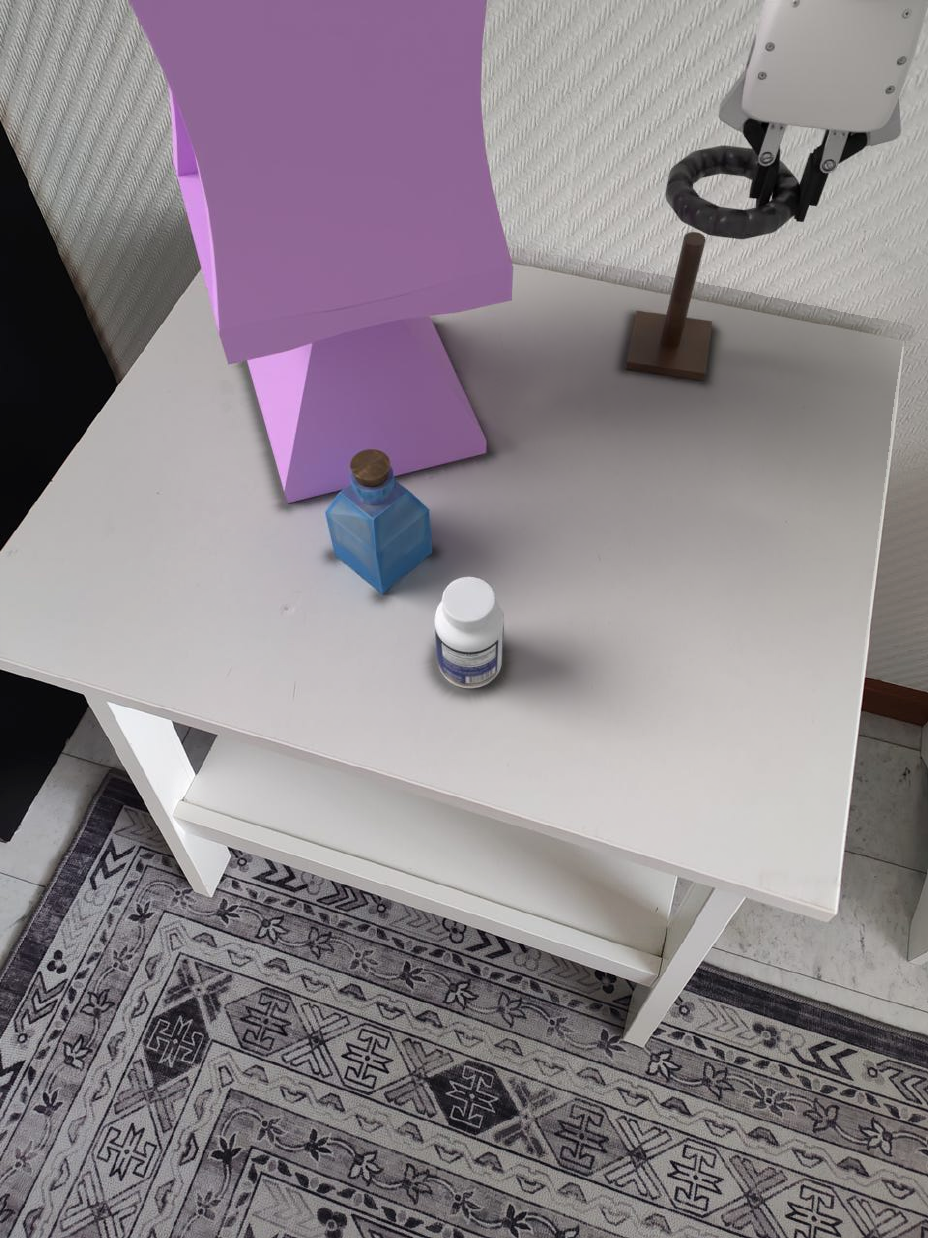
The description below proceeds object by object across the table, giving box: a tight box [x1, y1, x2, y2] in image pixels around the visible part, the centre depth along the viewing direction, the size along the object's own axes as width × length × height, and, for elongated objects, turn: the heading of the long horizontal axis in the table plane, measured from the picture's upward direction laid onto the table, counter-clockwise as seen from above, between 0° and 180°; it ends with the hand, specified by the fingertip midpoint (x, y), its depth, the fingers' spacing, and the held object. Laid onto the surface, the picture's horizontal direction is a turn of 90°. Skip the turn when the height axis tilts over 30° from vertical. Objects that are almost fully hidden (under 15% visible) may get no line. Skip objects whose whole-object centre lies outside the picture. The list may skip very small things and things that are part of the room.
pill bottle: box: [433, 576, 505, 689], centre depth 69 cm, size 5×5×10 cm
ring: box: [665, 144, 800, 240], centre depth 68 cm, size 10×10×2 cm
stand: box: [625, 231, 713, 381], centre depth 87 cm, size 8×8×13 cm
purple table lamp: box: [128, 0, 514, 504], centre depth 70 cm, size 22×22×45 cm
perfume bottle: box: [324, 449, 433, 596], centre depth 74 cm, size 6×6×12 cm
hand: (779, 206), depth 68 cm, fingers closed on ring, 2 cm apart
